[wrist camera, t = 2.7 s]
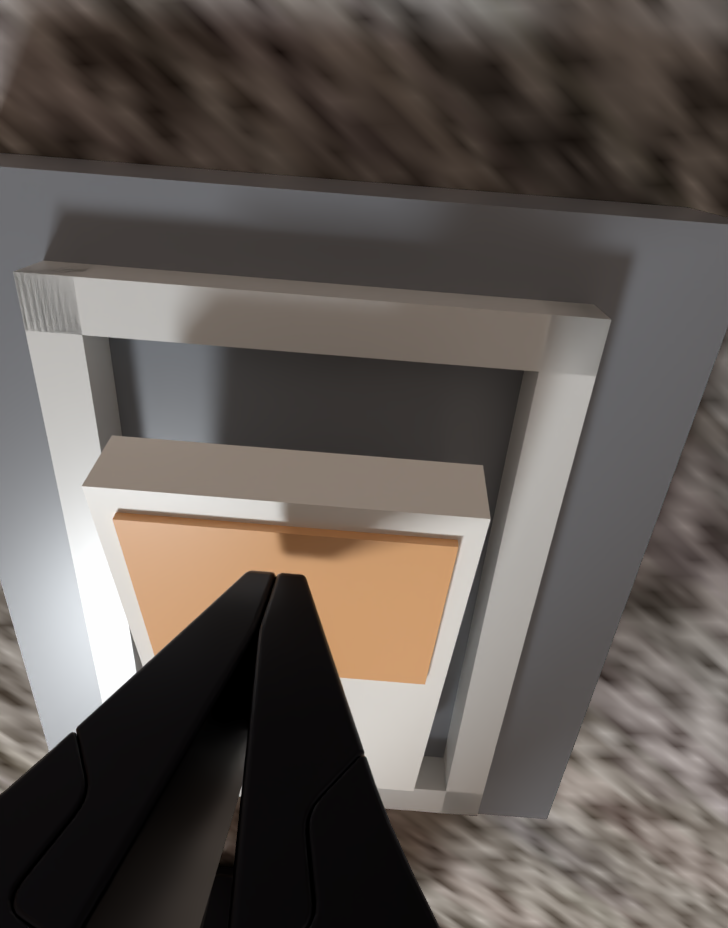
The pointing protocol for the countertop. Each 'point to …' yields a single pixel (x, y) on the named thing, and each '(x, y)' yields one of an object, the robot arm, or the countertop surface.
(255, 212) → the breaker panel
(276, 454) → the rocker switch
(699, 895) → the countertop surface
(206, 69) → the countertop surface
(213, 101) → the countertop surface
